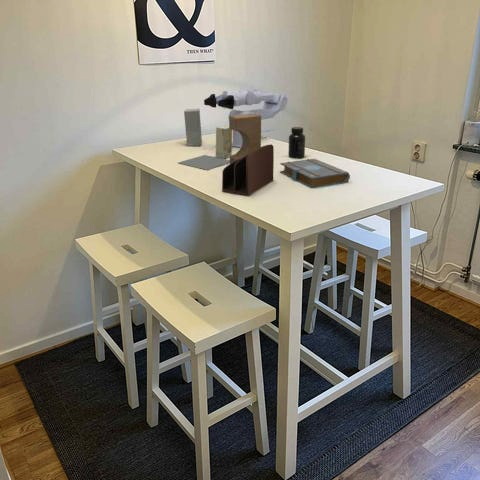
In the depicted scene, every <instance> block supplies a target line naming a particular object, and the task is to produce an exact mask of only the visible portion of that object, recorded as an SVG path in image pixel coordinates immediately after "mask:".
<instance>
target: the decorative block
mask: <svg viewBox="0 0 480 480" xmlns="http://www.w3.org/2000/svg"><path fill="white" fill-rule="evenodd" d="M228 122H229V123H228V127H229V128H230V129H232V131H233V130H235V131H238V132H239V133H240V134H241V136H242V146H241V148H240V147H239V149H238V150H237V152H236V153H233V154H231V156H230V157H229V160H230V163H229V164H231V163H232V162H234V161H236V160H238V159H240V158H243V157H244V156H246V155H248V154H250V153H252V152H253V151H254V150H256V149H258V148H260V147H262V120H261V115H258V114H255V113H252V114H241V115H231V116H229V115H228Z"/></svg>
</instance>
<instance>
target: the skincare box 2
mask: <svg viewBox="0 0 480 480" xmlns="http://www.w3.org/2000/svg"><path fill="white" fill-rule="evenodd" d="M232 143H233V130H232V129H230V128H229V126H226V125H222V126H219V127H216V130H215V157H217V158H222V159H226V158H230V156H231V155H232V153H233V152H232V149H233V148H232V147H233V146H232Z"/></svg>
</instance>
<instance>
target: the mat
mask: <svg viewBox="0 0 480 480" xmlns="http://www.w3.org/2000/svg"><path fill="white" fill-rule="evenodd" d="M177 164H178V165H183V166H188V167H190V168H196V169H200V170H203V171H209V170H213V169H215V168H219V167H222V166H225V164H226V165H229V164H230V159H226V158H218V157H216V156H212V155H208V154H204V155H199V156H197V157H192V158H189V159H186V160H182V161H179V162H177Z"/></svg>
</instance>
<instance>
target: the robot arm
mask: <svg viewBox="0 0 480 480" xmlns="http://www.w3.org/2000/svg"><path fill="white" fill-rule="evenodd" d="M262 102H264V103H263V106H262V108H258V109H251V110H239V109H238V110H237V109H235V108H234V107H240V106H244V105H245V106H253V105H258V104H260V103H262ZM203 105H205V106H208V107H209V106H210V107H211V108H214V109H215V108H217V105H218V107H220V108H223V109H225V110H226V109H229V110H230V111H229V114H228V117H229V116H231V115H241V114H252V113H255V114H258V115H261V121H262V120H268V119H272V118H275V117H276V116H277V114H279V113H280V112H282V111H284V110H285V109H286V107H287V106H288V97H287V95H285V94H280V93H275V92H261V91H259V90H258V89H253V90H250V89H249V90H248V89H247V90H245V91H244V90H238V91H237V92H230V93H229V92H228V91H227V90H224V91H222V94H220V95H217V96H216V93H212V94H210V95H209V97H207V98H205V99H204V100H203ZM241 146H242V136H241V134H240V133H239V132H238V131H235V130H232V147H235V148H239V149H240V148H241Z"/></svg>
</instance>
